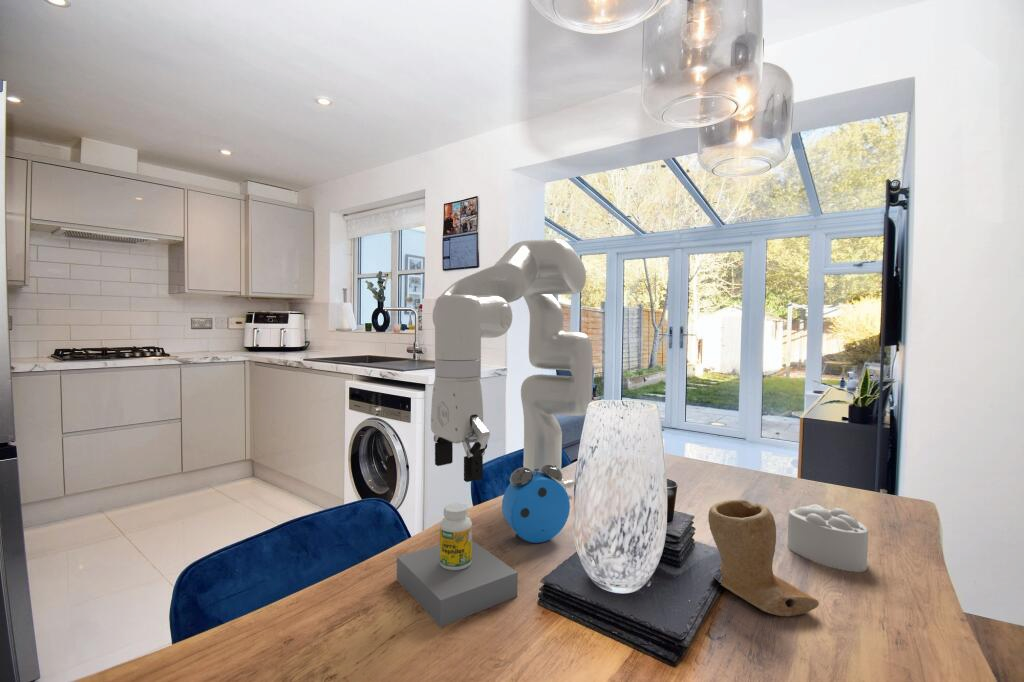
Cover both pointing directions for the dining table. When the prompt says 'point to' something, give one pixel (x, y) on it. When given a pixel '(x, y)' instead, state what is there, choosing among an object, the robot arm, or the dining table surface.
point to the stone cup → (753, 558)
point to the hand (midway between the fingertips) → (457, 471)
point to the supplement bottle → (455, 537)
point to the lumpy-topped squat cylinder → (828, 537)
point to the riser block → (456, 583)
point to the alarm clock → (536, 503)
